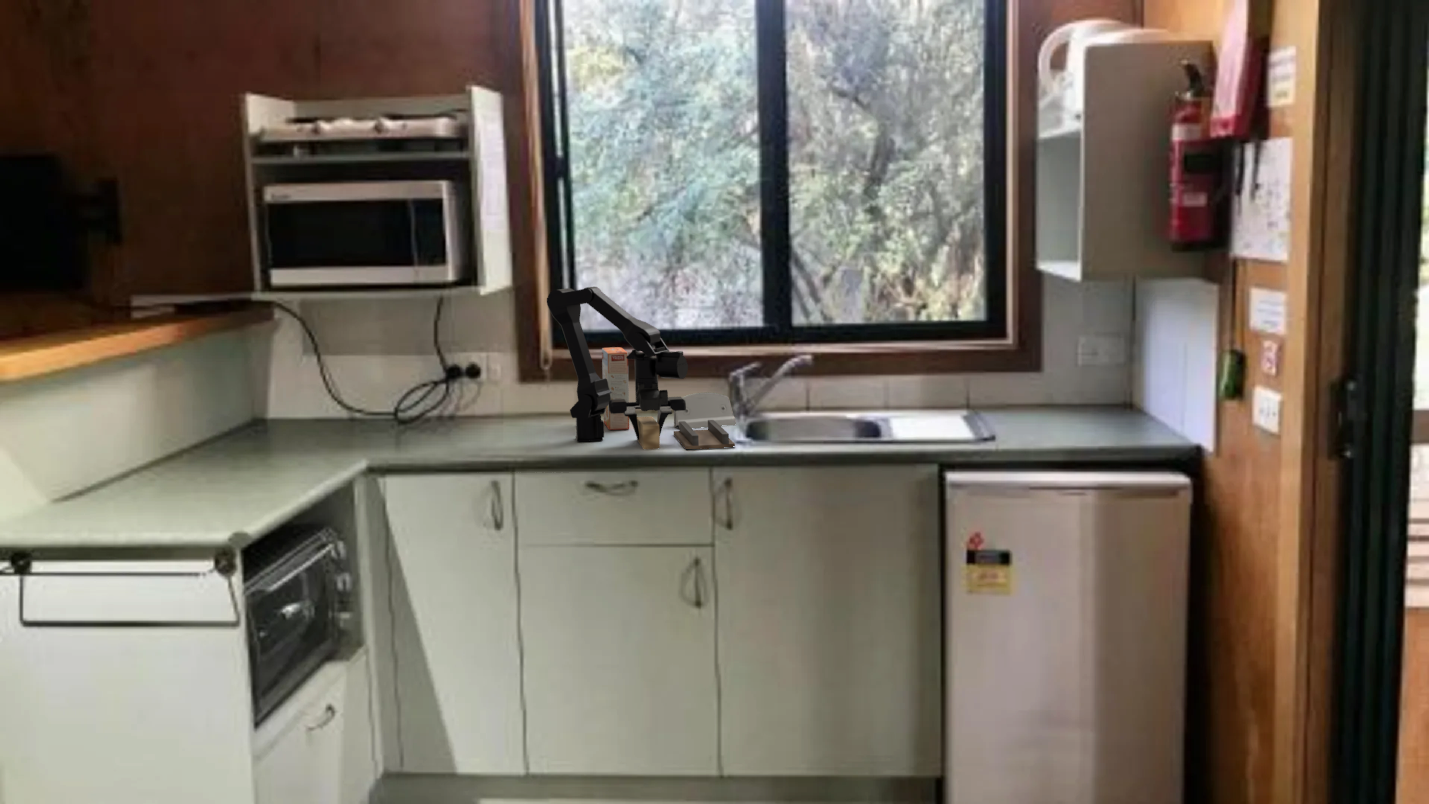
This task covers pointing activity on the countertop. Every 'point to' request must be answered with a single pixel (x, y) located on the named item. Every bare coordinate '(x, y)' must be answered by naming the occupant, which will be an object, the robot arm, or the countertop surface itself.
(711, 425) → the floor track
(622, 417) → the cracker box
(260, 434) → the countertop surface
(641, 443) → the wooden block
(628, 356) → the robot arm
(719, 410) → the grey upright panel
